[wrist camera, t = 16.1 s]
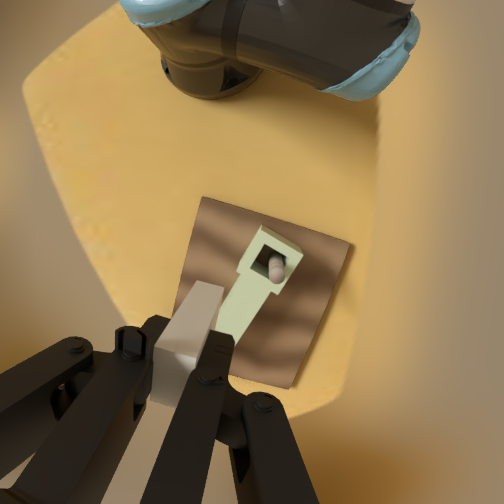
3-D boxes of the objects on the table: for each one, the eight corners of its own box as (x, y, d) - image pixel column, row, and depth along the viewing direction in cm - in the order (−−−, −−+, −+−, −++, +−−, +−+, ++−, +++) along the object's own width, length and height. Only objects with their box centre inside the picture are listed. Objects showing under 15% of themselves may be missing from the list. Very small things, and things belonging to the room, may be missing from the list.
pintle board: (203, 196, 42) (184, 200, 32) (348, 242, 42) (370, 259, 33) (165, 350, 48) (146, 385, 38) (288, 386, 48) (291, 425, 39)
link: (261, 224, 41) (261, 230, 37) (299, 246, 42) (303, 255, 37) (198, 331, 46) (191, 347, 41) (232, 349, 46) (228, 367, 41)
